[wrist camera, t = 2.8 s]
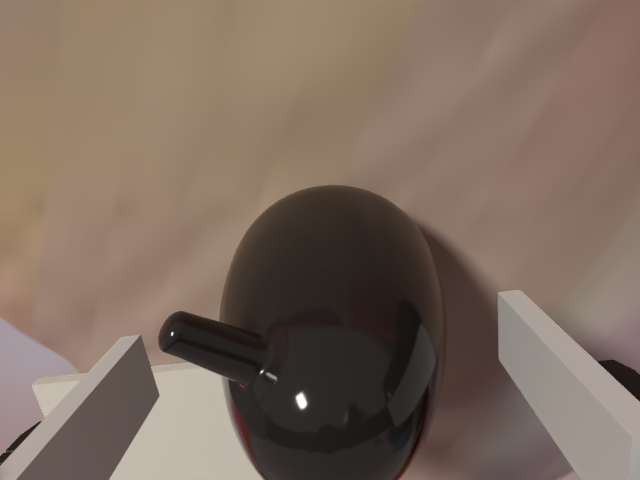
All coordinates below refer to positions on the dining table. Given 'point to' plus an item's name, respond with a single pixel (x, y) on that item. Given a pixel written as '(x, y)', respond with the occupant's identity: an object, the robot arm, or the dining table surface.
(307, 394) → the pump dispenser
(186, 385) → the ceramic tile
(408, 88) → the dining table surface
